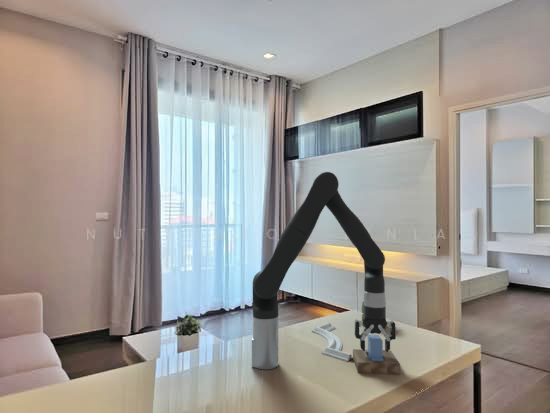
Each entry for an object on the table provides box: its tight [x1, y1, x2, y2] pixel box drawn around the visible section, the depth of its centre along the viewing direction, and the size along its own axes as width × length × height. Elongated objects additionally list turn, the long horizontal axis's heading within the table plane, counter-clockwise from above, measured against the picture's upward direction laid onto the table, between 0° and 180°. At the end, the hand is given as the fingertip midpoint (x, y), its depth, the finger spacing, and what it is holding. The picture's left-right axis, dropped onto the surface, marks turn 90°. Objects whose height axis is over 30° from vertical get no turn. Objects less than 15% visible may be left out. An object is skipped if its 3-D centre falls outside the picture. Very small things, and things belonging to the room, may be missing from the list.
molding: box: [311, 322, 353, 363], centre depth 147 cm, size 42×12×3 cm, turn 2°
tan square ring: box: [352, 348, 401, 375], centre depth 122 cm, size 14×12×4 cm
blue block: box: [366, 334, 384, 361], centre depth 123 cm, size 4×9×10 cm, turn 175°
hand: (375, 350), depth 123 cm, fingers open, 7 cm apart
